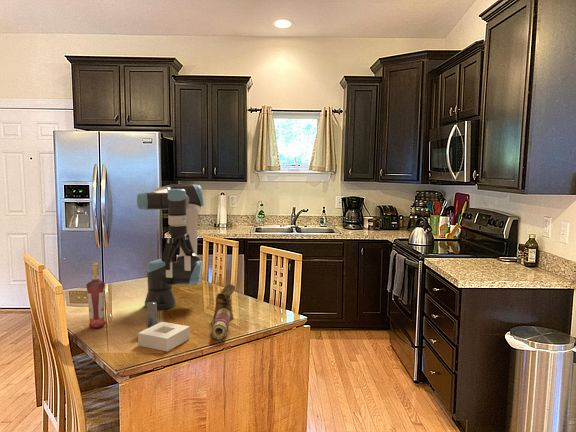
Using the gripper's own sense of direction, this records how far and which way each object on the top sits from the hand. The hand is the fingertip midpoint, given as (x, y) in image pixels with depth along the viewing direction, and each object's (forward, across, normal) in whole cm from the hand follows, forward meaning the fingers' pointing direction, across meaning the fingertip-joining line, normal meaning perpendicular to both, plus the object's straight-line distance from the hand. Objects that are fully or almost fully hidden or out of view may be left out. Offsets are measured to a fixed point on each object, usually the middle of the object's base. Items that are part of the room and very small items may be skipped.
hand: (178, 273), depth 188 cm
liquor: (+23, -14, +33) cm, 42 cm away
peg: (+23, -9, +7) cm, 26 cm away
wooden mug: (+23, +14, -15) cm, 31 cm away
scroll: (+24, +1, -20) cm, 31 cm away
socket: (+23, -18, -5) cm, 30 cm away
